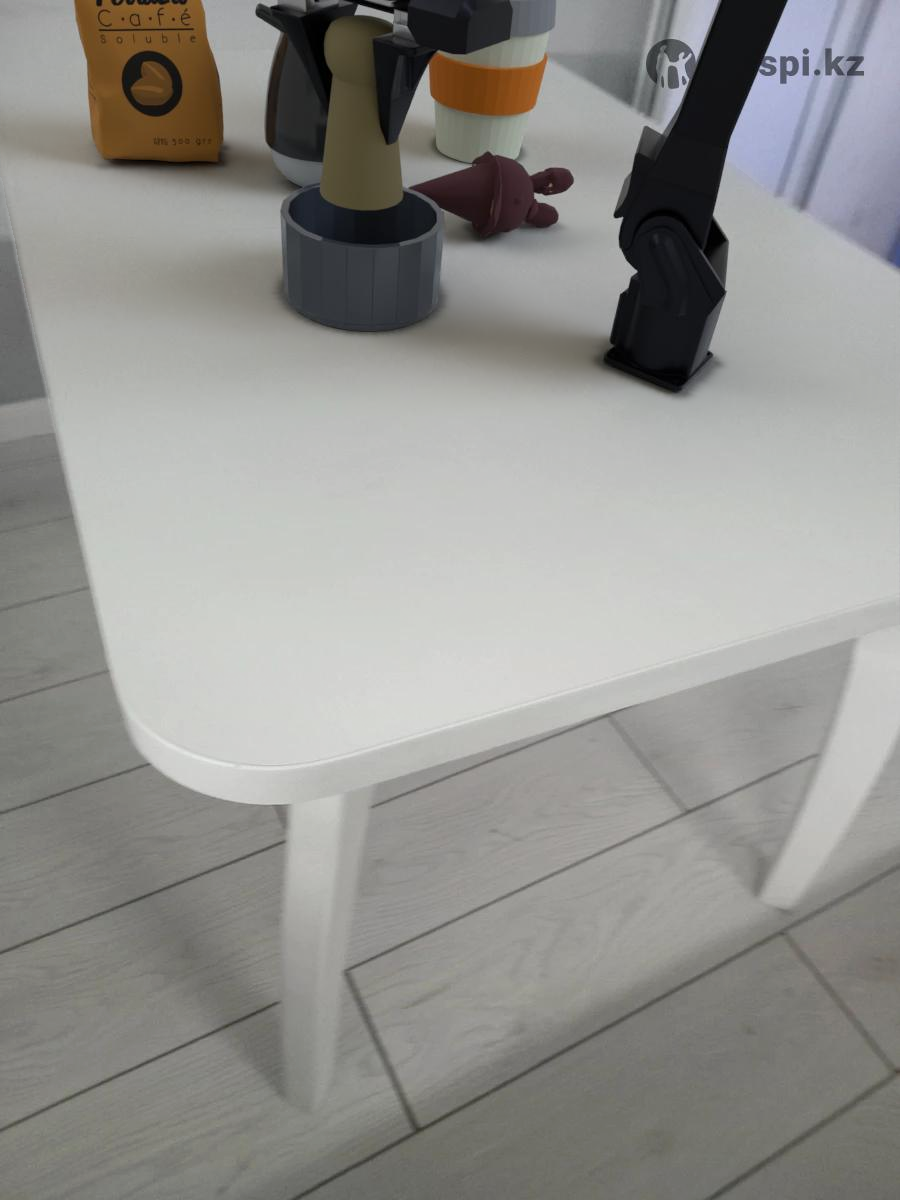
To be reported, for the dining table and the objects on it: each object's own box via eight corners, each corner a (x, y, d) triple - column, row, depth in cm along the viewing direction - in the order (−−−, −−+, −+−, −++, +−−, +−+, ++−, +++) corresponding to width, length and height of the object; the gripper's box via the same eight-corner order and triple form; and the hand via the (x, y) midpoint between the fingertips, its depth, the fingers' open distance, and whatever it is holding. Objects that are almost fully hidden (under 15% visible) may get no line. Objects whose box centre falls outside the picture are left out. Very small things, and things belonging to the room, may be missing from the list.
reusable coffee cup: (538, 176, 94) (564, 7, 84) (416, 164, 94) (426, -8, 83) (533, 133, 103) (555, -25, 92) (421, 122, 102) (431, -38, 92)
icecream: (426, 181, 74) (591, 192, 79) (407, 125, 78) (566, 139, 83) (409, 252, 80) (564, 258, 85) (392, 197, 84) (542, 206, 88)
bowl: (466, 291, 75) (475, 212, 71) (375, 348, 68) (378, 264, 63) (349, 244, 80) (350, 167, 75) (252, 293, 72) (246, 210, 67)
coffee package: (227, 173, 88) (204, -114, 72) (91, 171, 86) (36, -127, 70) (225, 135, 95) (203, -135, 79) (98, 132, 92) (50, -147, 77)
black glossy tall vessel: (266, 157, 92) (257, -23, 81) (371, 162, 93) (375, -14, 82) (262, 199, 85) (250, 8, 74) (375, 204, 86) (380, 17, 75)
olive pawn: (420, 199, 67) (430, 26, 59) (353, 217, 64) (355, 37, 56) (368, 170, 70) (372, 2, 62) (303, 186, 67) (297, 11, 59)
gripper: (575, -135, 55) (536, 142, 66) (329, -182, 61) (332, 77, 72) (474, -122, 48) (450, 185, 59) (209, -176, 54) (232, 109, 65)
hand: (363, 134), depth 64 cm, fingers closed on olive pawn, 4 cm apart
